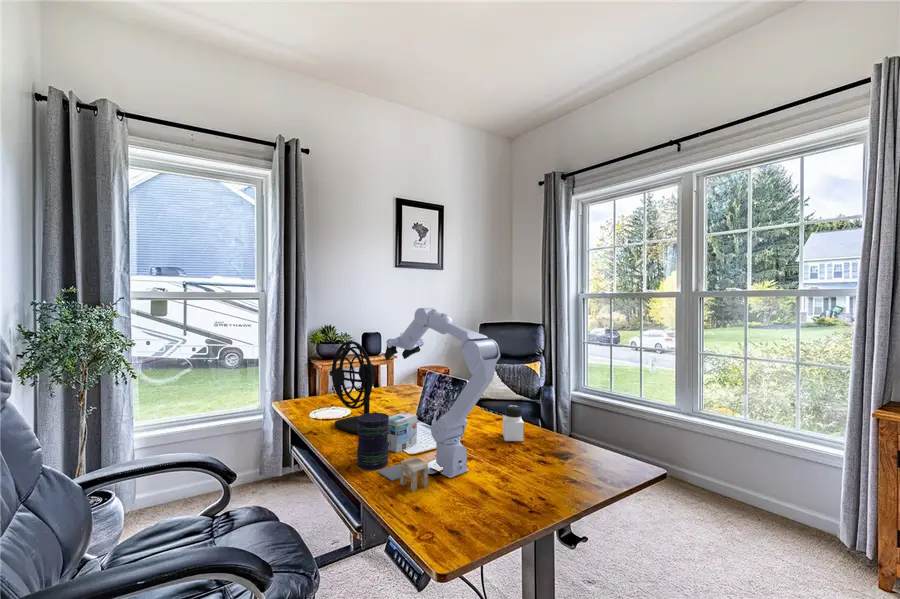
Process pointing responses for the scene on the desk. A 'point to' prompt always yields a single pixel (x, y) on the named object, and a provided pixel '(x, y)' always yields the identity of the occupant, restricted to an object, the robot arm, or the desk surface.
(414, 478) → the stool
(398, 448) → the light bulb box
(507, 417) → the medicine bottle
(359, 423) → the storage jar
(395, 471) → the mat
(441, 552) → the desk surface
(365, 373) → the desk fan
